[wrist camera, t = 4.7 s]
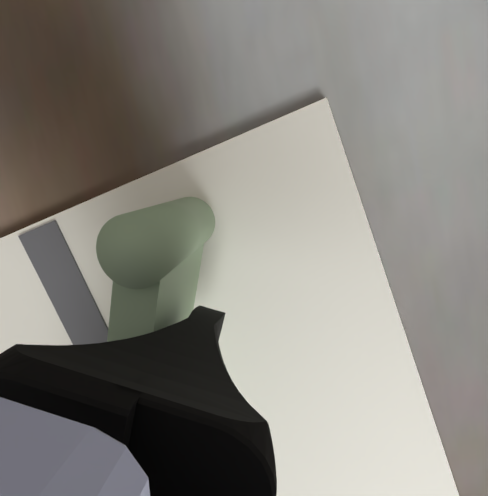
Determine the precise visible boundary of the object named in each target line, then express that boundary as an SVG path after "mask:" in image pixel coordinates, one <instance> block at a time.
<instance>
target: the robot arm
mask: <svg viewBox="0 0 488 496" xmlns="http://www.w3.org/2000/svg"><path fill="white" fill-rule="evenodd" d="M224 317H225V312H221V311H218V310H214V309H211V308H207V307H204V306H200V305H199V306H198V307H196V308H195V309H193V310H192V312H191V314H190V315H189V317H188V318H186V319H184V320H182V321H180V322H178V323H175V324H173V325H170V326H167V327H165V328H162V329H160V330H157V331H154V332H151V333H148V334H144V335H140V336H136V337H132V338H128V339H122V340H115V341H109V342H103V343H94V344H81V345H26V344H15V345H14V346H12V347H10V348H9V349H7V350H5V351H4V352H2V353H1V354H0V496H276V494H277V477H276V464H275V456H274V449H273V443H272V438H271V433H270V428H269V424H268V422H267V421H266V420H265V419H264V418H263V417H262V416H261V415H260V414H259V413H258V412H257V411H256V410H255V409H254V408H253V407H252V406H251V405H250V404H249V403H248V402H247V401H246V400H245V398H244V397H243V396H242V395H241V393H240V392H239V391H238V389H237V388H236V386H235V384H234V383H233V381H232V379H231V377H230V375H229V373H228V371H227V369H226V366H225V364H224V361H223V358H222V355H221V351H220V347H219V338H220V334H221V330H222V325H223V321H224Z"/></svg>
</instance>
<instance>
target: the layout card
mask: <svg viewBox="0 0 488 496" xmlns="http://www.w3.org/2000/svg"><path fill="white" fill-rule="evenodd" d="M184 197H196V198H199V199H201V200H203V201H204V202H206V203H207V204H208V205H209V206H210V208H211V209H212V211H213V213H214V216H215V229H214V232H213V234H212V236H211V237H210V238H209V239H208V240H207V241H206V242H205V243H204V247H203V253H202V259H201V265H200V272H199V278H198V284H197V291H196V297H195V303H194V309H195V308H196V307H198V306H199V305H200V306H204V307H207V308H211V309H214V310H218V311H221V312H225V317H224V321H223V325H222V330H221V334H220V338H219V347H220V351H221V355H222V358H223V361H224V364H225V366H226V369H227V371H228V373H229V375H230V377H231V379H232V381H233V383H234V384H235V386H236V388H237V389H238V391H239V392H240V393H241V395H242V396H243V397H244V398H245V400H246V401H247V402H248V403H249V404H250V405H251V406H252V407H253V408H254V409H255V410H256V411H257V412H258V413H259V414H260V415H261V416H262V417H263V418H264V419H265V420H266V421H267V422H268V424H269V428H270V433H271V438H272V443H273V449H274V456H275V464H276V477H277V494H276V496H459V494H458V491H457V488H456V485H455V482H454V479H453V476H452V473H451V470H450V467H449V464H448V461H447V458H446V455H445V452H444V449H443V446H442V443H441V440H440V437H439V434H438V431H437V428H436V425H435V422H434V419H433V416H432V413H431V410H430V407H429V404H428V401H427V398H426V395H425V392H424V389H423V386H422V383H421V380H420V377H419V374H418V371H417V368H416V365H415V362H414V359H413V355H412V352H411V349H410V346H409V343H408V340H407V337H406V334H405V331H404V328H403V325H402V322H401V319H400V316H399V313H398V310H397V307H396V304H395V301H394V298H393V295H392V292H391V289H390V286H389V283H388V280H387V277H386V274H385V271H384V268H383V265H382V262H381V259H380V256H379V253H378V250H377V247H376V244H375V241H374V238H373V235H372V232H371V229H370V226H369V223H368V220H367V217H366V214H365V211H364V208H363V205H362V202H361V199H360V196H359V193H358V190H357V187H356V184H355V181H354V178H353V175H352V172H351V169H350V166H349V163H348V160H347V157H346V154H345V151H344V148H343V145H342V142H341V139H340V136H339V133H338V130H337V127H336V124H335V121H334V118H333V115H332V112H331V109H330V106H329V103H328V100H327V97H326V98H324V99H322V100H319V101H317V102H315V103H312V104H310V105H308V106H306V107H303V108H301V109H299V110H296V111H294V112H292V113H289V114H287V115H285V116H282V117H280V118H278V119H275V120H273V121H271V122H268V123H266V124H264V125H262V126H259V127H257V128H255V129H252V130H250V131H248V132H245V133H243V134H241V135H238V136H236V137H234V138H231V139H229V140H227V141H224V142H222V143H220V144H218V145H215V146H213V147H211V148H208V149H206V150H204V151H201V152H199V153H197V154H194V155H192V156H190V157H187V158H185V159H183V160H180V161H178V162H176V163H174V164H171V165H169V166H167V167H164V168H162V169H160V170H157V171H155V172H153V173H150V174H148V175H146V176H143V177H141V178H139V179H136V180H134V181H132V182H130V183H127V184H125V185H123V186H120V187H118V188H116V189H113V190H111V191H109V192H106V193H104V194H102V195H99V196H97V197H95V198H92V199H90V200H88V201H86V202H83V203H81V204H79V205H76V206H74V207H72V208H69V209H67V210H65V211H62V212H60V213H58V214H55V215H53V216H51V217H48V218H46V219H44V220H42V221H39V222H37V223H35V224H32V225H30V226H28V227H25V228H23V229H21V230H18V231H16V232H14V233H11V234H9V235H7V236H4V237H2V238H0V354H1V353H2V352H4V351H5V350H7V349H9V348H10V347H12V346H14V345H15V344H26V345H81V344H94V343H103V342H107V337H108V327H109V317H110V306H111V296H112V285H113V281H112V280H111V279H110V278H109V277H108V276H107V275H106V274H105V272H104V271H103V269H102V268H101V266H100V264H99V261H98V258H97V254H96V241H97V237H98V234H99V232H100V230H101V228H102V227H103V225H104V224H105V223H106V222H107V221H108V220H110V219H111V218H113V217H115V216H117V215H121V214H124V213H128V212H132V211H135V210H139V209H143V208H147V207H150V206H154V205H158V204H161V203H165V202H169V201H173V200H176V199H180V198H184Z"/></svg>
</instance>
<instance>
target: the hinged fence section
mask: <svg viewBox="0 0 488 496" xmlns="http://www.w3.org/2000/svg"><path fill="white" fill-rule="evenodd" d="M214 229H215V216H214V213H213V211H212V209H211V208H210V206H209V205H208V204H207V203H206V202H204V201H203V200H201V199H199V198H196V197H184V198H180V199H176V200H173V201H169V202H165V203H161V204H158V205H154V206H150V207H147V208H143V209H139V210H135V211H132V212H128V213H124V214H121V215H117V216H115V217H113V218H111V219H110V220H108V221H107V222H106V223H105V224H104V225H103V227H102V228H101V230H100V232H99V234H98V237H97V241H96V254H97V258H98V261H99V264H100V266H101V268H102V269H103V271H104V272H105V274H106V275H107V276H108V277H109V278H110V279H111V280H112V281H113V285H112V296H111V306H110V317H109V327H108V337H107V342H109V341H115V340H122V339H128V338H132V337H136V336H140V335H144V334H148V333H151V332H154V331H157V330H160V329H162V328H165V327H167V326H170V325H173V324H175V323H178V322H180V321H182V320H184V319H186V318H188V317H189V315H190V314H191V312H192V310H193V309H194V303H195V297H196V291H197V284H198V278H199V272H200V265H201V259H202V253H203V247H204V243H205V242H206V241H207V240H208V239H209V238H210V237H211V236H212V234H213V232H214Z"/></svg>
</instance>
